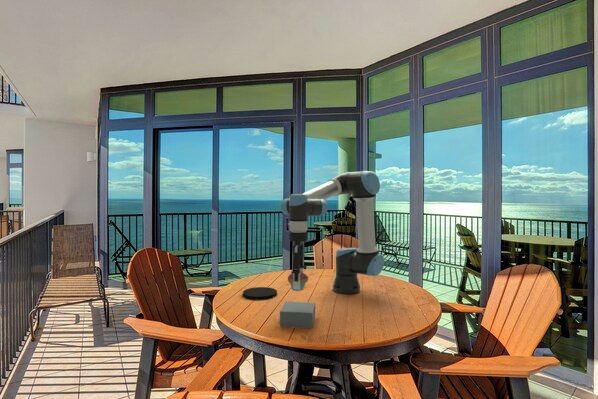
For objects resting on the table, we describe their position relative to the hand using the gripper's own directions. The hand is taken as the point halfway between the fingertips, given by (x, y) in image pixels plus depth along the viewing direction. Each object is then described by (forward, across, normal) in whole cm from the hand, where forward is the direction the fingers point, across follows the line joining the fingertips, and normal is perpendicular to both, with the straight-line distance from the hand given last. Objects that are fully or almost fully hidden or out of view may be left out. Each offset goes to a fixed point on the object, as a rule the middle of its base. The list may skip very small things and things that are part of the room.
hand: (298, 286), depth 141 cm
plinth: (+15, 0, 0) cm, 15 cm away
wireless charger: (+15, -35, -25) cm, 46 cm away
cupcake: (+2, 0, 0) cm, 2 cm away
